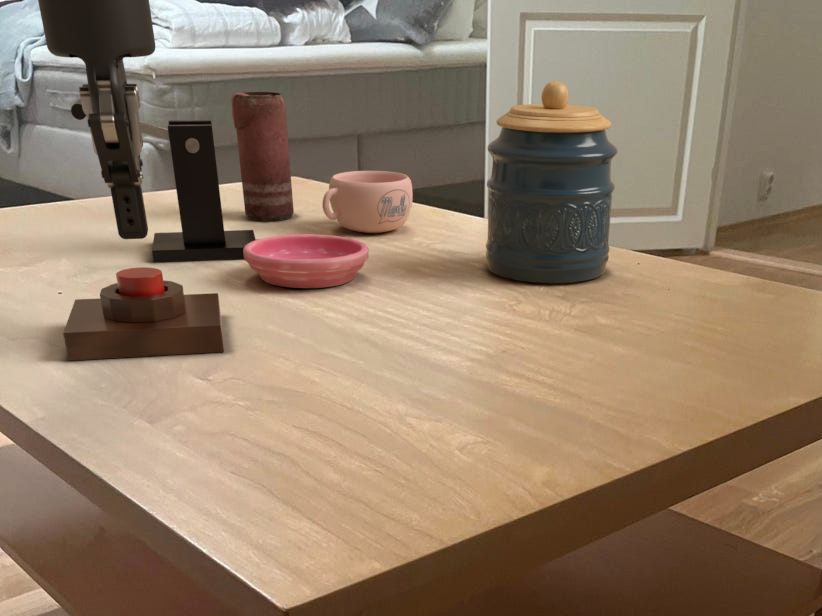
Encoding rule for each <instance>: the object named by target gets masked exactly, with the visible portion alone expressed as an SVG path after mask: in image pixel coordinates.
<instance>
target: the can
mask: <svg viewBox="0 0 822 616" xmlns="http://www.w3.org/2000/svg"><path fill="white" fill-rule="evenodd" d="M231 96H232V97H231V99H230V100H231V102H230V103H231V116H232V120H233V125H234V129H235V130H236V139H237V148H238V158H239V167H240V177H241V186H242V195H243V196H242V198H243V204H244V213H245V215H246V217H247V218H248V219H249V220H252V221H256V222H257V221H258V222H279V221H280V222H281V221H286V220H290V219H291V218H292V217H293V215H294V213H295V211H294V198H293V187H292V186H293V185H292V173H291V162H290V149H289V138H288V137H289V136H288V125H287V123H288V122H287V114H286V113H287V112H286V102H285V99H284V97H283V96H282V93H280V92H274V91H273V92H271V91H244V92H235V93H233V94H232V95H231Z"/></svg>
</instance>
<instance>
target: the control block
mask: <svg viewBox="0 0 822 616" xmlns="http://www.w3.org/2000/svg"><path fill="white" fill-rule="evenodd" d="M163 282H164V289H165V292H163V293H161V294H156V295H150V296H137V297H131V296H122V295H119V289H118V284H117V282H116V283H112V284H110V285H107V286H105V287H103V288H101V289H100V293H99V298H78V299H77V298H75V300H74V301H73V304H72V307H71V310H70V313H69V316H68V319H67V321H66V324H65V326H64V330H63V332H62V335H63V341H64V345H65V349H66V354H67V355H66V356H67V359H68V361H70V362H71V361H72V362H73V361H86V360H87V361H89V360H104V359H106V360H107V359H122V358H123V359H124V358H125V359H126V358H140V357H141V358H142V357H157V356H176V355H194V354H196V355H197V354H210V353H224V352H225V347H224V336H223V335H224V334H223V323H222V313H221V305H220V297H219V293H218V292H216V293H215V292H213V293H212V292H211V293H192V294H191V293H189V294H185V293H184V287H183V284H180V283H177V282H175V281H172V280H164V279H163Z"/></svg>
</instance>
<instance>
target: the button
mask: <svg viewBox="0 0 822 616" xmlns="http://www.w3.org/2000/svg"><path fill="white" fill-rule="evenodd" d="M162 271H163V270H161V269H159V268H155V267H144V266H143V267H141V266H140V267H130V268H129V267H128V268H125V269H124V268H123V269H120V270H119V271H117V272H115V277H116V283H117V284H118V289H119V295H122V296H131V297H137V296H150V295H156V294H161V293H163V292H165V289H164V282H163V280H164V276H163V272H162Z"/></svg>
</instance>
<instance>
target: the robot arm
mask: <svg viewBox="0 0 822 616" xmlns="http://www.w3.org/2000/svg"><path fill="white" fill-rule="evenodd" d="M37 3H38V8H39V13H40V17H41V23H42V28H43V32H44V33H43V34H44V39H45V43H46V48H47V50H48V52H49V53H50V54H52V55H53V56H55V57H59V58H72V59H73V58H78V59H80V60H81V61H83V63H84V65H85V73H86V80H87V83H82V84H81V85H82V86H79V87H78V92H79V99H81V104H82V109H83V111H84V113H85V114H86V115H87V117H86V118H87V126H88V128H89V130H90V131H89V132H90V136H91V142H92V148H93V151H94V153H95V155H96V156H97V158H98V161H99V165H100V169H101V171H100V172H101V173H100V174H101V178H102V179H103V181H104V183H105V184H106V186H107V188H108V189H110V194H111V198H112V206H113V211H114V216H115V222H116V228H117V234H118V236H119V238H121V239H123V240H142V239H145V238H146V237H147V236H148V232H149V225H148V220H147V212H146V208H145V202H144V201H145V200H144V195H143V189H142V185H143V179H144V173H143V171H142V170H143V168H142V167H143V166H144V164H143V163H144V162H143V159H141V153H142V148H144V140H143V133H141V126H140V121H141V120H140V115H139V114H140V113H139V109H140V107H141V99H140V92H139V85H138V83H137V82H135V83H134V82H133V83H131V82H130V83H129V82H128V79H127V75H126V70H125V64H124V63H125V62H124V58H141V57H148V56H152V55H153V54H154V53H155V51H156V40H155V33H154V25H153V19H152V12H151V6H150V5H151V3H150V0H37Z"/></svg>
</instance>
